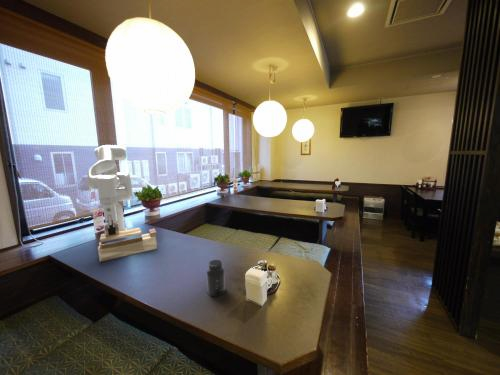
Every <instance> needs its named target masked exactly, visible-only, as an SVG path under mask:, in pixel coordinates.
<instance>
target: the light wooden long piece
mask: <svg viewBox="0 0 500 375" xmlns="http://www.w3.org/2000/svg"><path fill="white" fill-rule="evenodd" d="M157 245H158V243H157V235H156V236H155V237H150V234H149V233H144V234H141V236H138V237H132V238H128V239H124V240H123V239H122V240H118V241H111V242H108V243H104V244H102V242H98V246H97V251H98V258H99V259H98V260H99V263H101V261H102V262H105V261H106V262H107V261H110V260H114V259H118V258H122V257H123V258H124V257H127V256H131V255H136V254H140V253H144V252H149V251H153V250H157V249H158V246H157Z"/></svg>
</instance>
